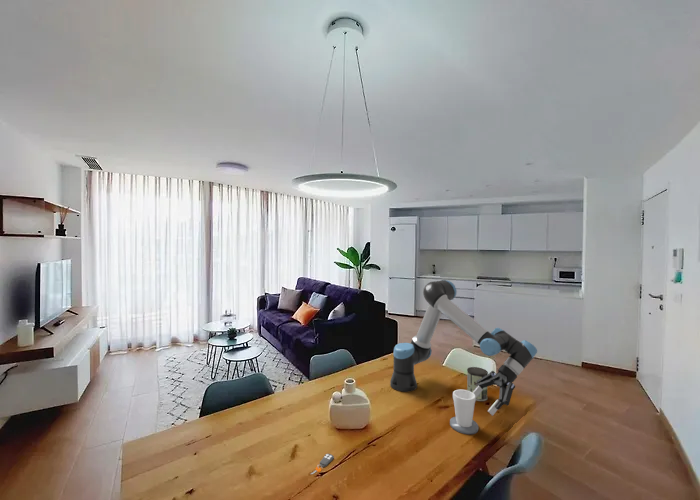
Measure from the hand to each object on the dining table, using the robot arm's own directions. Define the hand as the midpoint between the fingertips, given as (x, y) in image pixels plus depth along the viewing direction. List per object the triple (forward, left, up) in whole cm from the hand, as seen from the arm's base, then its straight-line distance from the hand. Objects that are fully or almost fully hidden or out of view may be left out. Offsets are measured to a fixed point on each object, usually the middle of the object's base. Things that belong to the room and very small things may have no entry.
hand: (480, 405), depth 138 cm
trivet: (-8, -3, -9) cm, 12 cm away
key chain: (-65, -38, -10) cm, 75 cm away
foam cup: (-8, -3, -8) cm, 11 cm away
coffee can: (+5, +27, -9) cm, 29 cm away
